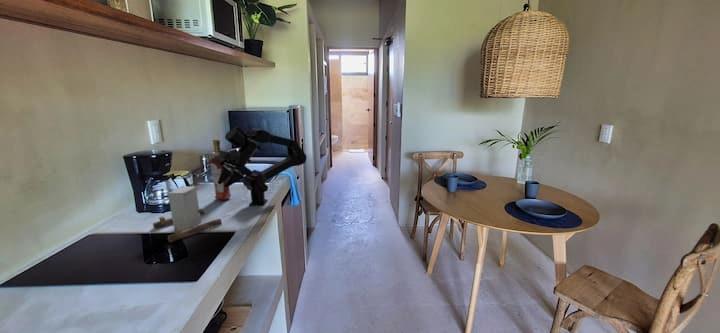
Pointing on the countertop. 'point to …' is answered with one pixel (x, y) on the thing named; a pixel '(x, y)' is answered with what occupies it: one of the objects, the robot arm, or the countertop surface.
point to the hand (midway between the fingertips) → (222, 185)
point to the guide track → (187, 232)
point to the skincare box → (184, 208)
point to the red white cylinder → (218, 174)
